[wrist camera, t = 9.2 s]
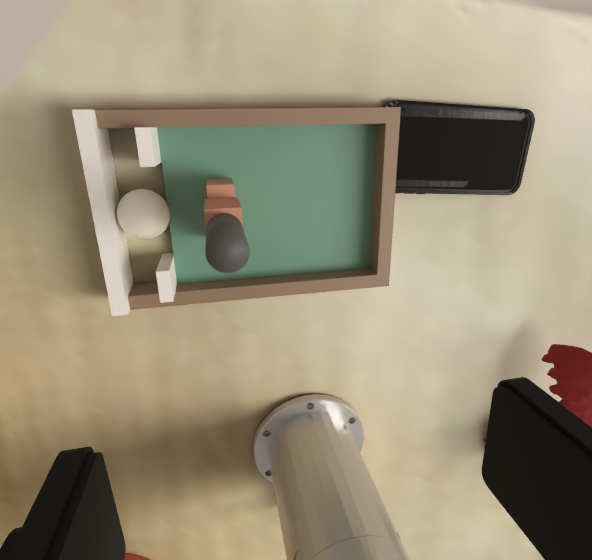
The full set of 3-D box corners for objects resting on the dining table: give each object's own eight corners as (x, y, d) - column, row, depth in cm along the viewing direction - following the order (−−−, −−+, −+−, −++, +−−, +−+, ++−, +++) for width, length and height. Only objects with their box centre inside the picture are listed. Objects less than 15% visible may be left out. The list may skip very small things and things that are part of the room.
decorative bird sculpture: (502, 476, 62) (629, 515, 52) (487, 531, 55) (630, 586, 46) (485, 320, 51) (643, 334, 41) (465, 365, 44) (645, 393, 35)
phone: (385, 99, 34) (537, 109, 37) (379, 100, 35) (529, 110, 38) (374, 193, 37) (518, 196, 40) (370, 191, 38) (510, 194, 41)
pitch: (376, 275, 41) (397, 293, 36) (122, 297, 36) (109, 321, 32) (385, 108, 35) (412, 105, 31) (88, 111, 31) (67, 109, 26)
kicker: (237, 237, 35) (252, 292, 23) (209, 238, 35) (209, 296, 23) (233, 178, 33) (247, 205, 21) (204, 179, 33) (200, 207, 21)
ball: (136, 232, 35) (180, 233, 35) (111, 244, 32) (159, 246, 31) (129, 185, 34) (174, 185, 33) (101, 192, 30) (152, 193, 30)
